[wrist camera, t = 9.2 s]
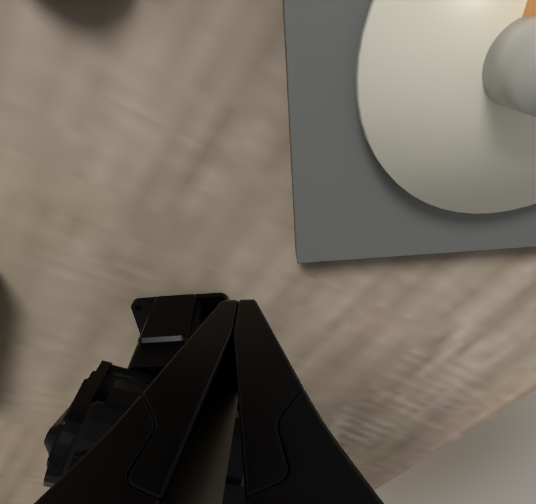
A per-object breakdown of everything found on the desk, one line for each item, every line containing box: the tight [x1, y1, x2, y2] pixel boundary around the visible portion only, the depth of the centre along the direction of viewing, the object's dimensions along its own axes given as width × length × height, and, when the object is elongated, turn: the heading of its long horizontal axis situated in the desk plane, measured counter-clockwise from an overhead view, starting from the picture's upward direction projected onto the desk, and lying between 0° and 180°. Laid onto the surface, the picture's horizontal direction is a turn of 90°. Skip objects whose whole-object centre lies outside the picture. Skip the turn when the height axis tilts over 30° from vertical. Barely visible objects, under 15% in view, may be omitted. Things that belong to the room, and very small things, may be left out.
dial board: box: [283, 0, 536, 263], centre depth 17 cm, size 20×20×2 cm
